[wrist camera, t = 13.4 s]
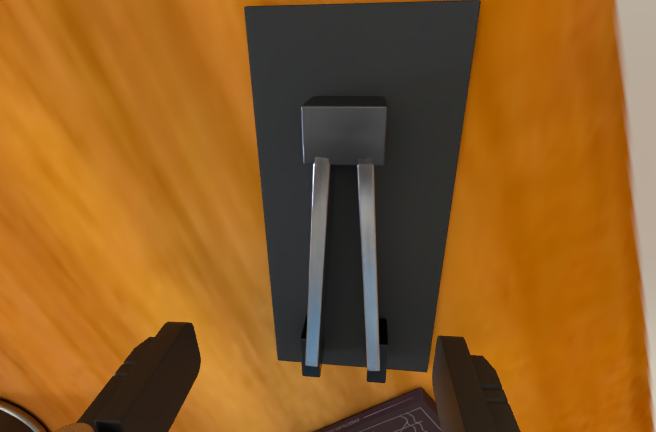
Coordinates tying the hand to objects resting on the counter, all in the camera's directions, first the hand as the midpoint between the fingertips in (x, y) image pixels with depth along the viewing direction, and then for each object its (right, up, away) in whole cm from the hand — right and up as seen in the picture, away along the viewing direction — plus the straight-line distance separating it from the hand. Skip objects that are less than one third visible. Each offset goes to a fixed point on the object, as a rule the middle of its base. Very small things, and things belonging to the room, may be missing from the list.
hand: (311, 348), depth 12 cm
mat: (+2, +4, +8) cm, 9 cm away
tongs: (+2, +3, +8) cm, 9 cm away
